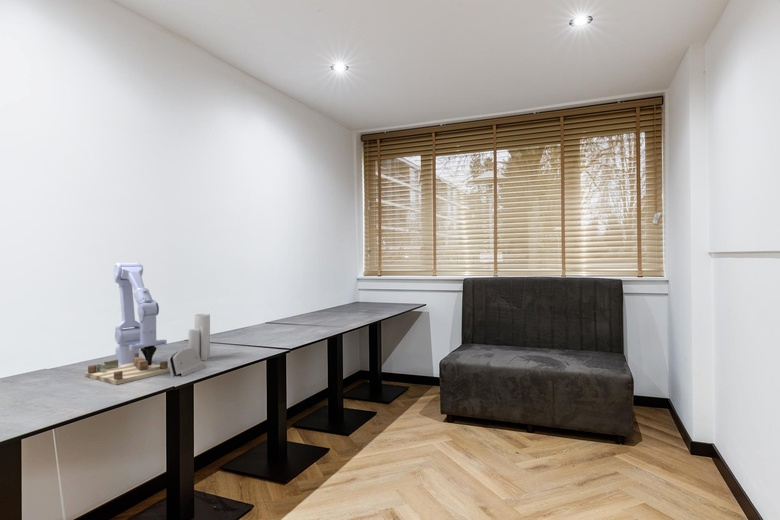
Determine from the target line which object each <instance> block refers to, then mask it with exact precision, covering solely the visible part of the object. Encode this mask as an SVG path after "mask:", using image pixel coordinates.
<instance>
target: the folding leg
mask: <svg viewBox="0 0 780 520" xmlns="http://www.w3.org/2000/svg"><path fill="white" fill-rule="evenodd" d="M134 365H135V366H136V367H137V368H138V369H139V370H144V369H148V361H147V360H145V357H143V356H139V357H134Z"/></svg>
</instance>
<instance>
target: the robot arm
mask: <svg viewBox="0 0 780 520" xmlns="http://www.w3.org/2000/svg"><path fill="white" fill-rule="evenodd" d="M143 274H144V266H143V264H142V263H141V262H140V261H139V262H116V263H115V265H114V267H113V277H114V282H115V283H116V284H118V288H119V297H120V310H121V322H120V323H118V324H117V325H116V326H115V329H114V330H115V331H114V341H115V342H116V344H117V346H116V347H115V360H116V359H117V360H118V366H119V365H124V364H129V363H134V354H135V353H139V354H140V351H141V353H142V354H143V356H144V359H145V360H147V361H148V366H149V365H152V364H153V356H154V355H155V352H156V351H157V349H158V348H157V347H158V346H163V345H167V339H157V316H158V315H159V312H160V306H159V303H158V301H157V300H155V299H153V297H152V295H151V293H150V290H149V289H148V288H146V287H145V285H144V282H143ZM133 290H134V293H133ZM134 299H135V301H134ZM134 302H136V303H137V314H138V321H137V320H136V317H135V315H136V314H135V306H134V305H135V303H134Z"/></svg>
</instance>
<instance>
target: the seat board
mask: <svg viewBox="0 0 780 520" xmlns="http://www.w3.org/2000/svg"><path fill="white" fill-rule="evenodd" d="M134 357H140V352H139V353H135V354H134ZM168 373H171V372H170V368H169V364H168V360H167V361H166V360H165V361H160V362H159V364H155V363H152V365H149V366H148V369H144V370H139V369H138V368H137V367H136V366H135V365H134V363H129V364H124V365H118V360H117V359H116V358H115V359H112V360H107V361H103V363H101V362H99V363H96V364H91V365H88V366H87V372H84V377H86V378H90V379H94V380H97V381H100V382H101V381H102V382H104V383H107V384H111V385H115V386H116V385H120V384H125V383H129V382H133V381H138V380H142V379H145V378H146V379H147V378H151V377H154V376H159V375H163V374H168Z"/></svg>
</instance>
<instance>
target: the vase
mask: <svg viewBox="0 0 780 520" xmlns="http://www.w3.org/2000/svg"><path fill="white" fill-rule="evenodd" d="M193 318H194V328H193V329H189V330H188V349H190V348H192V349H196V350H197V351H198V354H199V356H200V358H201V360H205V361H208V359H210V358H211V314H210V313H196V314H194V317H193ZM207 358H208V359H207Z"/></svg>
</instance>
